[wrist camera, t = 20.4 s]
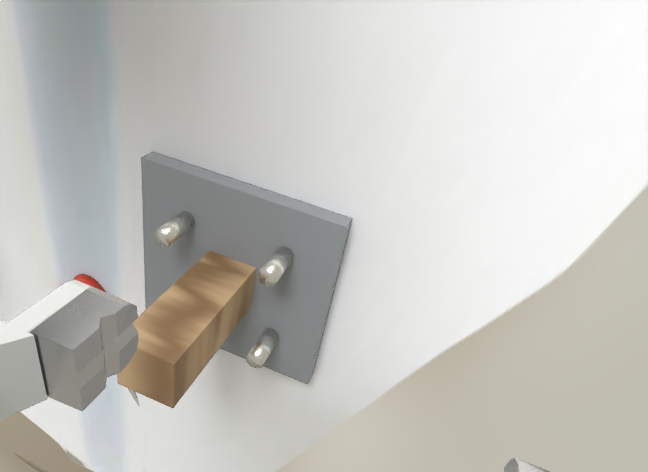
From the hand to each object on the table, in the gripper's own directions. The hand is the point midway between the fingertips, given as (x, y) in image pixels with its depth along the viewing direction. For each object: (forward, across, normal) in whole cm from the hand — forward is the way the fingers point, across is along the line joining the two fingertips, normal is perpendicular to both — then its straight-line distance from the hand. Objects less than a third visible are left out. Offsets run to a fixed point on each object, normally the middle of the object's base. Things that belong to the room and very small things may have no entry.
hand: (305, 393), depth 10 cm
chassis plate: (+25, +13, +19) cm, 34 cm away
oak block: (+24, +13, +19) cm, 33 cm away
